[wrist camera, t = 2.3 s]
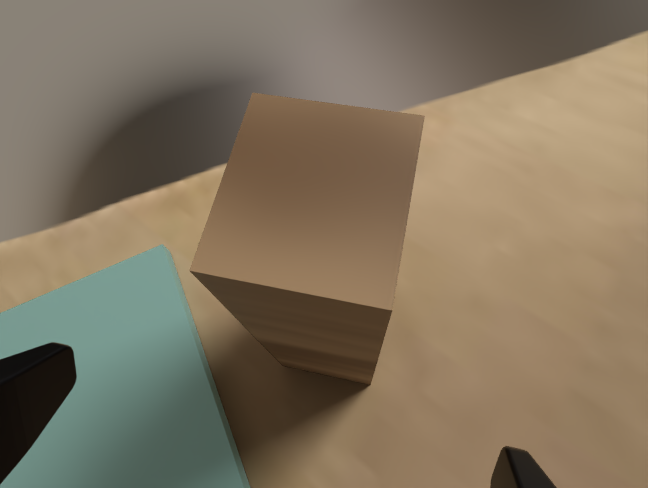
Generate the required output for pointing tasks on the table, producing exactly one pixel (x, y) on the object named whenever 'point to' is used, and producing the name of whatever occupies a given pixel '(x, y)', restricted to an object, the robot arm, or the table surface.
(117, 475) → the teal board
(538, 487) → the robot arm
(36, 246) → the table surface
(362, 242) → the walnut block
